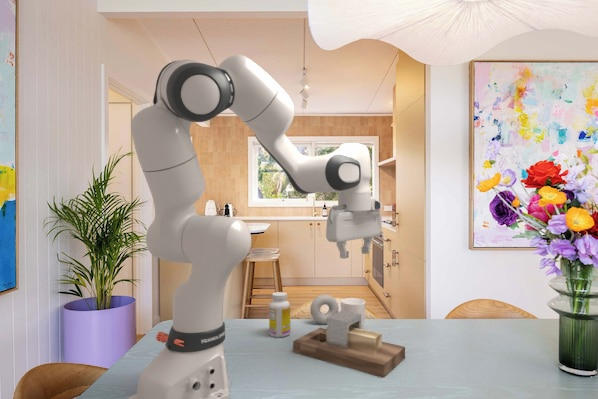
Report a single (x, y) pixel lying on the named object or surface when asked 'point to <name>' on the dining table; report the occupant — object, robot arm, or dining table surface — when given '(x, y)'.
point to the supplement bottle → (279, 315)
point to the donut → (317, 305)
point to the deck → (350, 354)
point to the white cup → (354, 307)
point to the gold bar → (364, 340)
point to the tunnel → (341, 328)
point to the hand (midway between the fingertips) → (355, 255)
